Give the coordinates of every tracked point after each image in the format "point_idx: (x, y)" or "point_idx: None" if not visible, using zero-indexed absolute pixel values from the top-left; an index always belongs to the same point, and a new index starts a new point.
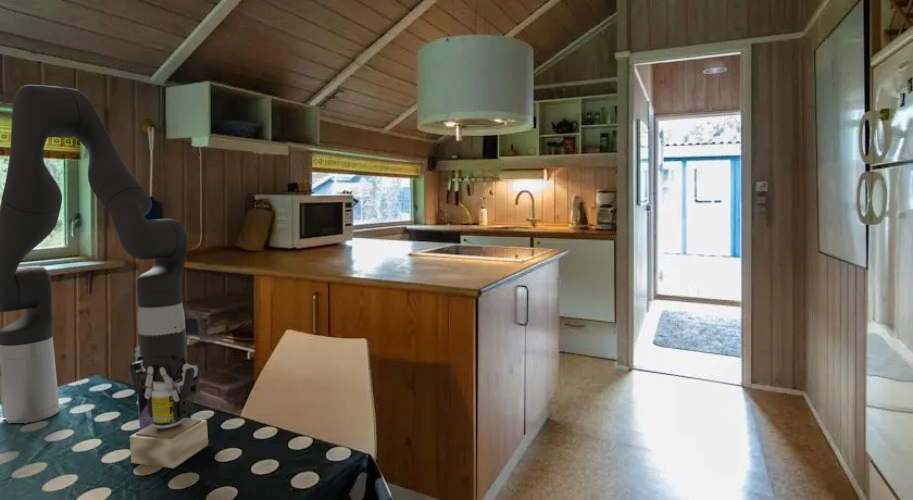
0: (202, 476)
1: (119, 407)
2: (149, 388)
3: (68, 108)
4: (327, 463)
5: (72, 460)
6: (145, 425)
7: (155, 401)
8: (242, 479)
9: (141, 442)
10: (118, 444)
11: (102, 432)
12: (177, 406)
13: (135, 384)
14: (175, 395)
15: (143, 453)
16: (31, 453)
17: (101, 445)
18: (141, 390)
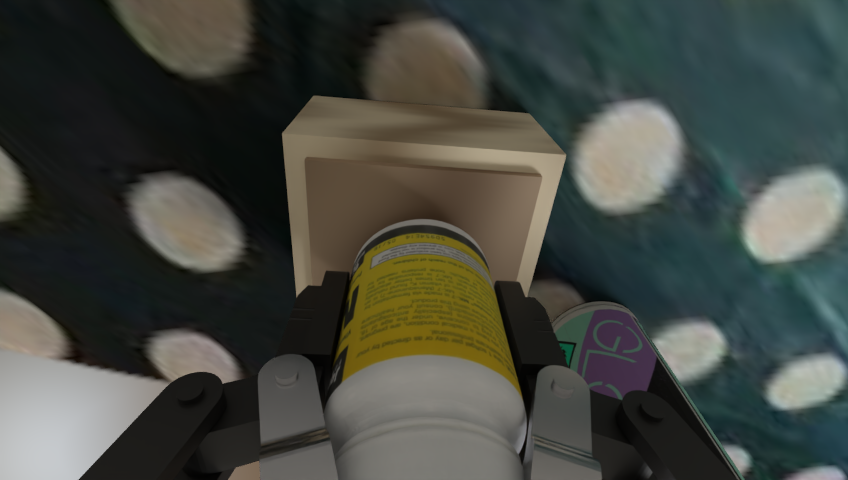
0: (129, 48)
1: (790, 427)
2: (555, 442)
3: None
4: None
5: (801, 97)
6: (615, 327)
7: (443, 329)
8: None
9: (484, 140)
10: (669, 234)
11: (774, 298)
12: (308, 332)
13: (716, 472)
14: (283, 396)
15: (470, 122)
16: None
17: (733, 220)
18: (631, 422)
